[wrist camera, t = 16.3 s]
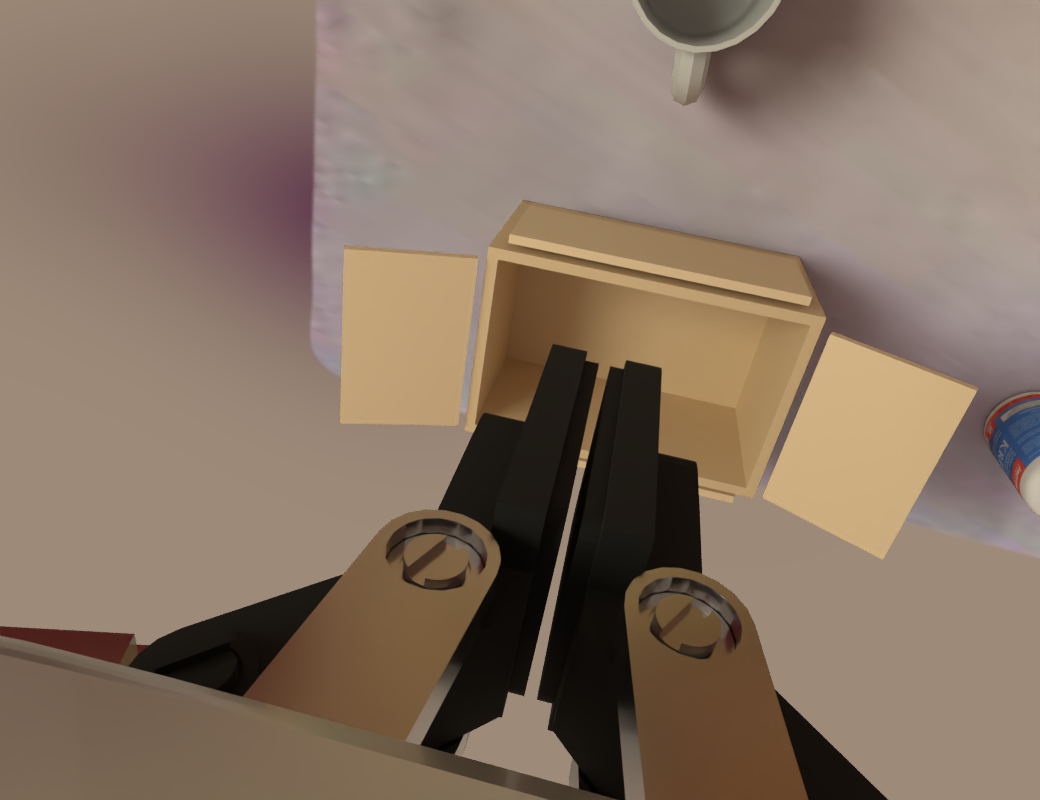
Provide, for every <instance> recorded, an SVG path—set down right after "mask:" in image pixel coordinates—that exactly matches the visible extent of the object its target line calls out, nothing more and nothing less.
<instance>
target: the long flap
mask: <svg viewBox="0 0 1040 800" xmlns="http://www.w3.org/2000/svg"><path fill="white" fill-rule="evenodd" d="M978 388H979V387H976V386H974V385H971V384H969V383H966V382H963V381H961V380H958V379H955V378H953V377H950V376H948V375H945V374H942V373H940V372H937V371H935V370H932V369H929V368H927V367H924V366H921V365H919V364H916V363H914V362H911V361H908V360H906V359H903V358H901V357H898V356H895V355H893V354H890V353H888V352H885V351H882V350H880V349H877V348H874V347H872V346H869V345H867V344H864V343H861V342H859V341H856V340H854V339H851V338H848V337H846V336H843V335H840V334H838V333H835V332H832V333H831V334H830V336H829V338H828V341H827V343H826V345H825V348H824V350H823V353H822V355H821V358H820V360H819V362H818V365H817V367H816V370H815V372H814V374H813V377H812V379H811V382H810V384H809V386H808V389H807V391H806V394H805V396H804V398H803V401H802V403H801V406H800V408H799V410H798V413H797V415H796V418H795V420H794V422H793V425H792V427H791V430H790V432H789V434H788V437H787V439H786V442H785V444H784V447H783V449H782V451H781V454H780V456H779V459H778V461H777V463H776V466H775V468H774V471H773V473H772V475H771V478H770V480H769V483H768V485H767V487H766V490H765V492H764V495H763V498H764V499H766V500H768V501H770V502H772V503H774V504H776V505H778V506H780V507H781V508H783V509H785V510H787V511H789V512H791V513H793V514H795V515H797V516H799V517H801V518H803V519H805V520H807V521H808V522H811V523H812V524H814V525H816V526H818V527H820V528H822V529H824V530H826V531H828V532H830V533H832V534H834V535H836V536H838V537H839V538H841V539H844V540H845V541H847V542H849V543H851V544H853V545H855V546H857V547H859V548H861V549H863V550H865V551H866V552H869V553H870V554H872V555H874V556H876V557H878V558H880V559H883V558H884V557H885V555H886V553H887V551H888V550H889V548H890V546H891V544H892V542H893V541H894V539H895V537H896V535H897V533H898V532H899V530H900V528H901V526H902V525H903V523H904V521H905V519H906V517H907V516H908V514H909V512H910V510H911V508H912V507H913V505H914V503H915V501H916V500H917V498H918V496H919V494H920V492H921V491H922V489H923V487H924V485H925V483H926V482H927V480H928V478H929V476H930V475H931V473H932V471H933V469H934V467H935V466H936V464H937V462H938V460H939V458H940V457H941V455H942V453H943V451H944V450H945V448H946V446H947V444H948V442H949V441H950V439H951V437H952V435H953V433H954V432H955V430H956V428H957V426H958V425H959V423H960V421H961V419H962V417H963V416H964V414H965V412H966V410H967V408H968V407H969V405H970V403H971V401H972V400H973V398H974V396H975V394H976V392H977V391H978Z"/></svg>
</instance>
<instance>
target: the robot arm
mask: <svg viewBox="0 0 1040 800" xmlns="http://www.w3.org/2000/svg"><path fill="white" fill-rule="evenodd" d="M586 356H587V351H584V350H579V349H575V348H570V347H566V346H561V345H557V344H553V345H552V347H551V350H550V353H549V356H548V358H547V361H546V364H545V367H544V370H543V372H542V375H541V378H540V381H539V384H538V387H537V389H536V392H535V395H534V398H533V401H532V403H531V406H530V409H529V412H528V415H527V417H526V420H525V422H524V421H520V420H515V419H511V418H507V417H502V416H498V415H494V414H489V413H483V414H482V416H481V418H480V420H479V422H478V424H477V426H476V429H475V431H474V433H473V435H472V437H471V439H470V441H469V444H468V446H467V448H466V450H465V452H464V454H463V457H462V459H461V461H460V463H459V465H458V467H457V470H456V472H455V474H454V476H453V478H452V481H451V482H450V485H449V487H448V489H447V491H446V493H445V495H444V498H443V500H442V502H441V504H440V506H439V509H438V510H421V511H416V512H410V513H406V514H404V515H402V516H400V517H397V518H395V519H393V520H391V521H390V522H389V523H388V524H387V525H385V526H384V527H383V528H382V529H381V530H380V531H379V532H378V533H377V534H376V535H375V537H374V538H373V539H372V540H371V541H370V543H369V544H368V545H367V546H366V547H365V549H364V550H363V551H362V553H361V554H360V555H359V556H358V557H357V558H356V560H355V561H354V562H353V563H352V564H351V566H350V567H349V568H348V570H347V571H346V572H345V573H344V574H343V575H340V576H337V577H334V578H331V579H328V580H325V581H322V582H319V583H316V584H313V585H310V586H307V587H304V588H301V589H298V590H295V591H292V592H289V593H286V594H283V595H280V596H277V597H274V598H271V599H268V600H265V601H262V602H259V603H256V604H253V605H250V606H247V607H244V608H241V609H238V610H235V611H232V612H229V613H226V614H223V615H220V616H217V617H214V618H211V619H208V620H205V621H202V622H199V623H196V624H193V625H190V626H187V627H184V628H181V629H179V630H177V631H174V632H172V633H170V634H168V635H166V636H164V637H161V638H159V639H157V640H156V641H155V642H153V643H152V644H151V645H136V639H135V634H128V633H110V632H93V631H92V632H91V631H75V630H57V629H40V628H38V629H37V628H22V627H4V626H0V800H887V798H886V797H885V796H884V795H883V794H882V793H880V791H878V790H877V789H876V788H875V787H874V786H873V785H872V784H871V783H870V782H869V781H868V780H867V779H866V778H865V777H864V776H863V775H862V774H861V773H860V772H859V771H858V770H857V769H856V768H855V767H854V766H853V765H852V764H851V763H850V762H849V761H848V760H847V759H846V758H845V757H844V756H843V755H842V754H841V753H839V751H837V750H836V749H835V748H834V747H833V746H832V745H831V744H830V743H829V742H828V741H827V740H826V739H825V738H824V737H823V736H822V735H821V734H820V733H819V732H818V731H817V730H816V729H815V728H814V727H813V726H812V725H811V724H810V723H809V722H808V721H807V720H806V719H805V718H804V717H803V716H802V715H801V714H800V713H799V712H798V711H796V710H795V709H794V708H793V707H792V706H791V705H790V704H789V703H788V702H787V701H786V700H785V699H784V698H783V697H782V696H781V695H780V694H779V693H778V692H777V691H776V690H775V689H774V685H773V682H772V679H771V676H770V672H769V669H768V666H767V662H766V659H765V656H764V653H763V650H762V646H761V643H760V640H759V636H758V633H757V630H756V626H755V624H754V622H753V620H752V618H751V616H750V614H749V611H748V609H747V608H746V607H745V606H744V604H743V603H742V602H741V601H740V600H739V599H738V598H737V596H736V595H735V594H734V593H732V592H731V591H730V590H728V589H727V588H726V587H724V586H723V585H722V584H720V583H719V582H717V581H715V580H713V579H711V578H709V577H707V576H705V575H703V574H702V561H701V560H702V559H701V535H700V511H699V486H698V467H697V463H696V462H695V461H692V460H687V459H683V458H679V457H675V456H670V455H666V454H662V453H658V449H659V426H660V403H661V380H662V368H660V367H656V366H651V365H647V364H642V363H638V362H633V361H629V360H626V362H625V365H624V369H621V368H617V367H612V366H610V369H609V373H608V377H607V381H606V385H605V389H604V393H603V397H602V401H601V405H600V410H599V414H598V418H597V422H596V426H595V430H594V434H593V438H592V442H591V446H590V450H589V455H588V459H587V463H586V467H585V471H584V475H583V479H582V483H581V488H580V491H579V495H578V500H577V504H576V508H575V512H574V517H573V521H572V526H571V531H570V536H569V541H568V546H567V552H566V556H565V562H564V566H563V571H562V576H561V581H560V586H559V591H558V596H557V602H556V606H555V611H554V616H553V622H552V627H551V631H550V636H549V642H548V647H547V652H546V656H545V662H544V666H543V671H542V676H541V682H540V686H539V691H538V697H537V700H541V701H545V702H548V703H552V708H551V714H550V719H549V725H548V730H550V731H553V732H554V733H555V734H556V736H557V737H558V738H559V740H560V741H561V742H562V744H563V745H564V747H565V748H566V749H567V751H568V752H569V753H570V755H571V756H572V758H573V760H572V763H571V769H570V776H569V786H566V785H562V784H559V783H555V782H552V781H548V780H544V779H541V778H537V777H534V776H530V775H526V774H522V773H519V772H515V771H512V770H508V769H504V768H501V767H497V766H494V765H490V764H486V763H482V762H479V761H476V760H472V759H468V758H465V757H462V755H463V753H464V751H465V748H466V744H467V740H468V737H469V732H470V731H472V730H474V729H476V728H478V727H480V726H482V725H484V724H486V723H488V722H490V721H492V720H494V719H496V718H498V717H502V715H503V711H504V707H505V702H506V698H507V694H508V692H511V693H515V694H519V695H522V696H524V694H525V690H526V685H527V681H528V677H529V672H530V668H531V664H532V660H533V656H534V652H535V648H536V644H537V639H538V635H539V631H540V627H541V622H542V618H543V614H544V610H545V605H546V601H547V597H548V593H549V589H550V585H551V581H552V576H553V572H554V568H555V564H556V559H557V555H558V551H559V547H560V543H561V539H562V534H563V530H564V525H565V521H566V517H567V512H568V508H569V503H570V498H571V494H572V489H573V484H574V479H575V475H576V470H577V466H578V461H579V456H580V451H581V447H582V442H583V437H584V433H585V428H586V423H587V419H588V414H589V409H590V404H591V400H592V395H593V390H594V386H595V381H596V376H597V371H598V367H599V363H594V362H590V361H586Z"/></svg>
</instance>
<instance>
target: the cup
mask: <svg viewBox="0 0 1040 800" xmlns="http://www.w3.org/2000/svg"><path fill="white" fill-rule="evenodd" d="M780 2H781V0H632V4H633V6H634V8H635V9H636V11H637V13H638V15H639V17H640V19H641V21H642V23H643V24H644V25H645V26H646V27H647V28H648V29H649V30H650V31H651V32H652V33H653V34H654V35H655V36H656V37H657V38H658V39H659V40H661V41H663V42H665V43H666V44H668V45H670V46H672V47H674V48H676V52H675V59H674V66H673V73H672V80H671V91H672V95H673V99H674V100H675V101H676V102H678V103H680V104H682V105H684V106H685V105H688V104H691V103H694V102H696V101H697V99H698V98H699V96H700V94H701V93H702V91H703V89H704V86H705V82H706V78H707V73H708V68H709V63H710V57H711V52H714V51H718V50H721V49H724V48H727V47H730V46H733V45H736V44H738V43H739V42H741V41H742V40H744V39H745V38H747V37H748V36H750V35H751V34H753V33H754V32H756V31H757V30H758V29H759V28H760V27H761V26H762V25H763V24H764V23H765V22H766V21H767V20H768V19H769V17H770V16H771V15H772V14H773V13H774V12H775V10H776V8H777V7H778V5H779V3H780Z"/></svg>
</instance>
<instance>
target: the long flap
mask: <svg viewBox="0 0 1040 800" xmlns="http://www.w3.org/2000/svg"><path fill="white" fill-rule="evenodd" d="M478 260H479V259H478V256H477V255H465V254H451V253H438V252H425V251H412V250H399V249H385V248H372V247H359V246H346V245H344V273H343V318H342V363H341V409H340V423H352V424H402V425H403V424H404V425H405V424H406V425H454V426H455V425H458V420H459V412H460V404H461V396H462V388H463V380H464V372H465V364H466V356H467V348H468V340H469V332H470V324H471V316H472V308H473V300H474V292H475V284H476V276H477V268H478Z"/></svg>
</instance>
